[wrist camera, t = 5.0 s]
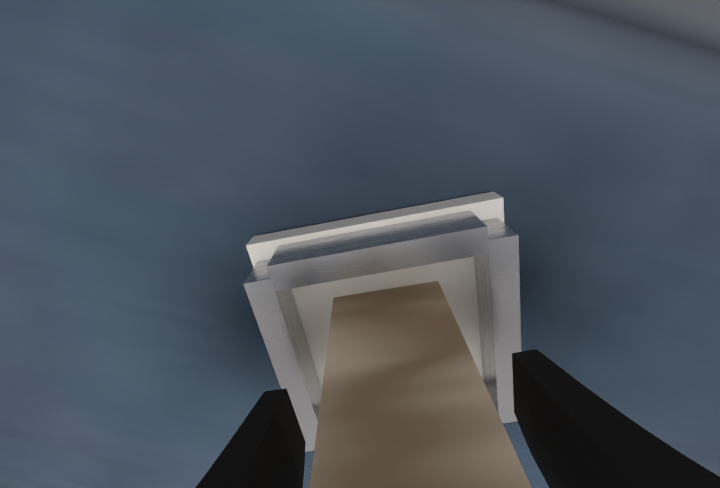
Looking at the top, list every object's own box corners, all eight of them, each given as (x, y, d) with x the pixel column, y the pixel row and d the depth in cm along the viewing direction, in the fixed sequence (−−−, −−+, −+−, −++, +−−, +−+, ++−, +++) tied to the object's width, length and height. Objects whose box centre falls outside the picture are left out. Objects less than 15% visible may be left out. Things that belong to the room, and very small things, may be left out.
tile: (493, 191, 11) (503, 197, 10) (503, 382, 14) (511, 398, 13) (253, 236, 12) (245, 245, 11) (310, 411, 15) (308, 427, 14)
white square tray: (497, 205, 10) (517, 221, 9) (505, 394, 13) (523, 428, 12) (254, 250, 11) (238, 271, 10) (311, 423, 14) (306, 459, 12)
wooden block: (438, 280, 11) (544, 514, 5) (447, 364, 13) (540, 637, 6) (333, 297, 12) (302, 543, 5) (352, 378, 13) (347, 656, 6)
